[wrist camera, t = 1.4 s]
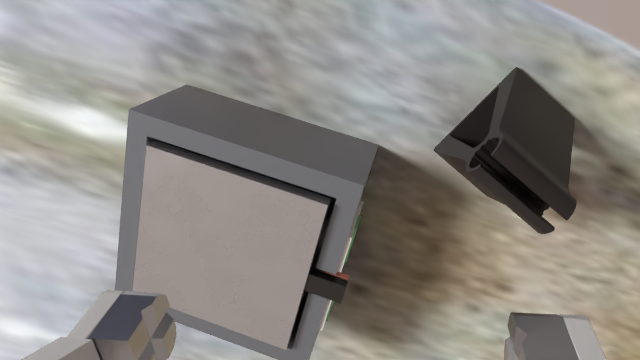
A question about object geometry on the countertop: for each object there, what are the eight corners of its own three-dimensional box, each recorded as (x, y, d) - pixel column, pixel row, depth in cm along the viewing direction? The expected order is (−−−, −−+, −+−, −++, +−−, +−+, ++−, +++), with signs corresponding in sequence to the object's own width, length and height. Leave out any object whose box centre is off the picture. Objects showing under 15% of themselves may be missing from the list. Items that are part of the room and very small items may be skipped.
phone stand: (516, 66, 37) (548, 103, 26) (573, 117, 38) (628, 174, 27) (433, 148, 41) (430, 210, 30) (485, 194, 41) (502, 271, 31)
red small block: (349, 275, 38) (348, 279, 38) (344, 291, 39) (342, 295, 38) (322, 266, 38) (321, 270, 38) (318, 282, 39) (316, 286, 38)
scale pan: (370, 211, 35) (368, 218, 34) (323, 352, 41) (320, 362, 40) (155, 140, 37) (146, 145, 36) (139, 285, 43) (132, 293, 42)
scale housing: (384, 146, 42) (370, 187, 34) (331, 306, 49) (310, 371, 41) (186, 84, 44) (128, 109, 36) (165, 248, 51) (114, 299, 43)
